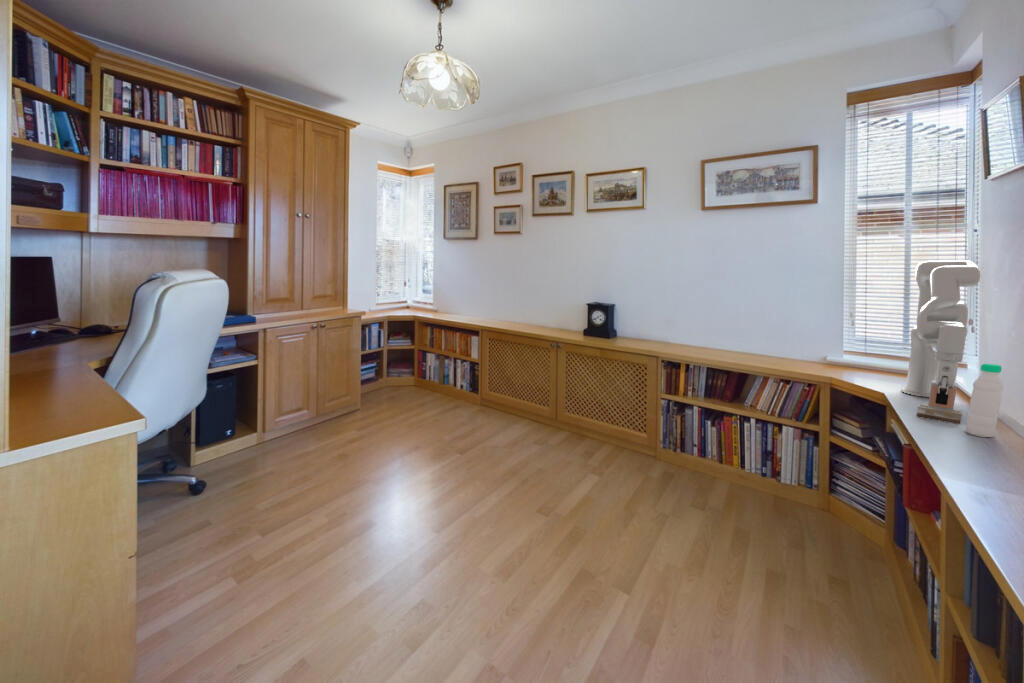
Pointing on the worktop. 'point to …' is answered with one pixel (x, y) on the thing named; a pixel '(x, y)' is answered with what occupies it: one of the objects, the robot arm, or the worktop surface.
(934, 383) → the tea carton
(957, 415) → the shelf board
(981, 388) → the milk bottle
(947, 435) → the worktop surface
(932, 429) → the worktop surface
